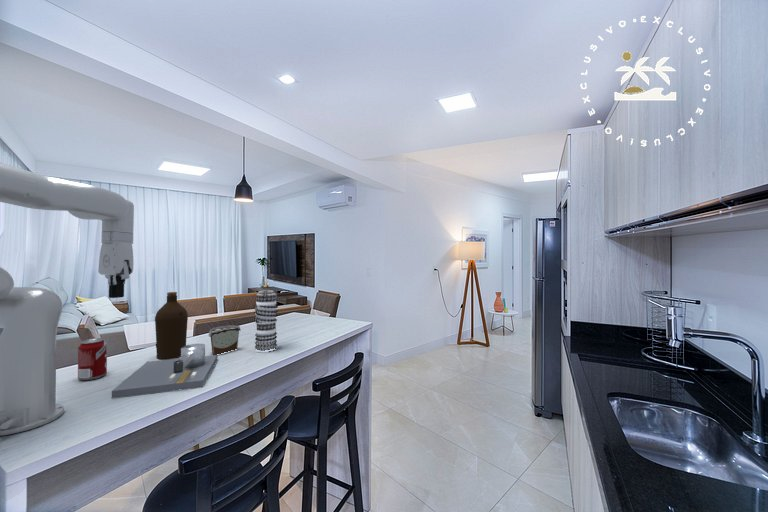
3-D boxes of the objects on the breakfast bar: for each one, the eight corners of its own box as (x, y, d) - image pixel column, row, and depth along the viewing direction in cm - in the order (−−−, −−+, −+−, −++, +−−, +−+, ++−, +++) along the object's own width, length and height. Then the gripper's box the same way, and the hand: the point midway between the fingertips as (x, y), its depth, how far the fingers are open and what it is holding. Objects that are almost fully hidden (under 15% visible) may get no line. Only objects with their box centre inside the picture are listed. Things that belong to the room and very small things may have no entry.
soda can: (88, 382, 94) (89, 343, 94) (71, 380, 95) (72, 342, 95) (112, 374, 101) (112, 338, 101) (96, 372, 102) (96, 337, 102)
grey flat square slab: (202, 386, 91) (202, 376, 91) (111, 398, 84) (111, 387, 84) (217, 360, 115) (217, 352, 115) (147, 367, 107) (147, 358, 107)
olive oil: (192, 350, 126) (192, 290, 126) (179, 359, 115) (180, 293, 116) (163, 352, 124) (164, 291, 124) (148, 361, 114) (149, 294, 114)
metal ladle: (184, 361, 106) (184, 344, 106) (207, 359, 108) (207, 342, 109) (162, 384, 88) (163, 363, 88) (190, 381, 90) (190, 360, 90)
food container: (233, 346, 132) (233, 323, 132) (240, 349, 128) (240, 325, 128) (202, 354, 122) (202, 329, 122) (209, 357, 118) (210, 331, 118)
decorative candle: (282, 348, 130) (282, 289, 130) (265, 354, 122) (266, 292, 122) (266, 345, 134) (266, 288, 134) (249, 351, 126) (249, 291, 126)
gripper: (89, 238, 95) (88, 297, 94) (117, 237, 89) (115, 300, 88) (118, 240, 101) (117, 295, 101) (145, 239, 96) (144, 297, 95)
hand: (116, 297), depth 95 cm, fingers closed
